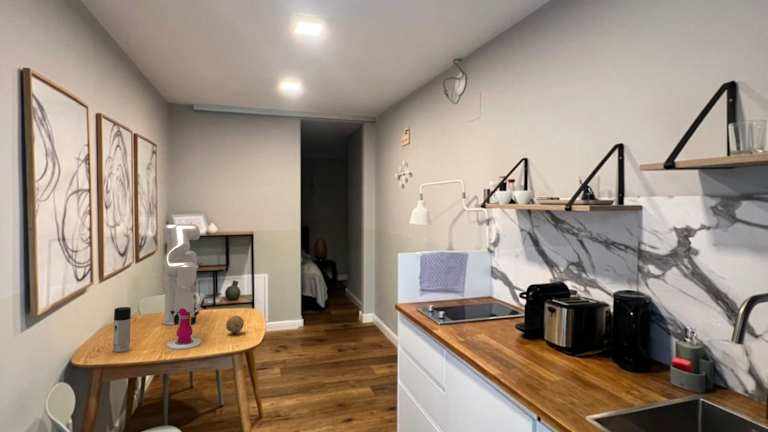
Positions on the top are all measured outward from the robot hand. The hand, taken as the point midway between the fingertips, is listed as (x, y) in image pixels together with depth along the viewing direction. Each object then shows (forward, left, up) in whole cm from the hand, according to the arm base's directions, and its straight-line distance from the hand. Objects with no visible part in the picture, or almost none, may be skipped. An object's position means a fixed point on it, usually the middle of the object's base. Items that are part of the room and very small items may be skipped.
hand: (184, 323), depth 202 cm
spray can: (+10, -25, -11) cm, 29 cm away
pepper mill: (0, 0, -9) cm, 9 cm away
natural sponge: (-19, +18, -11) cm, 28 cm away
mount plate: (0, 0, -10) cm, 10 cm away
